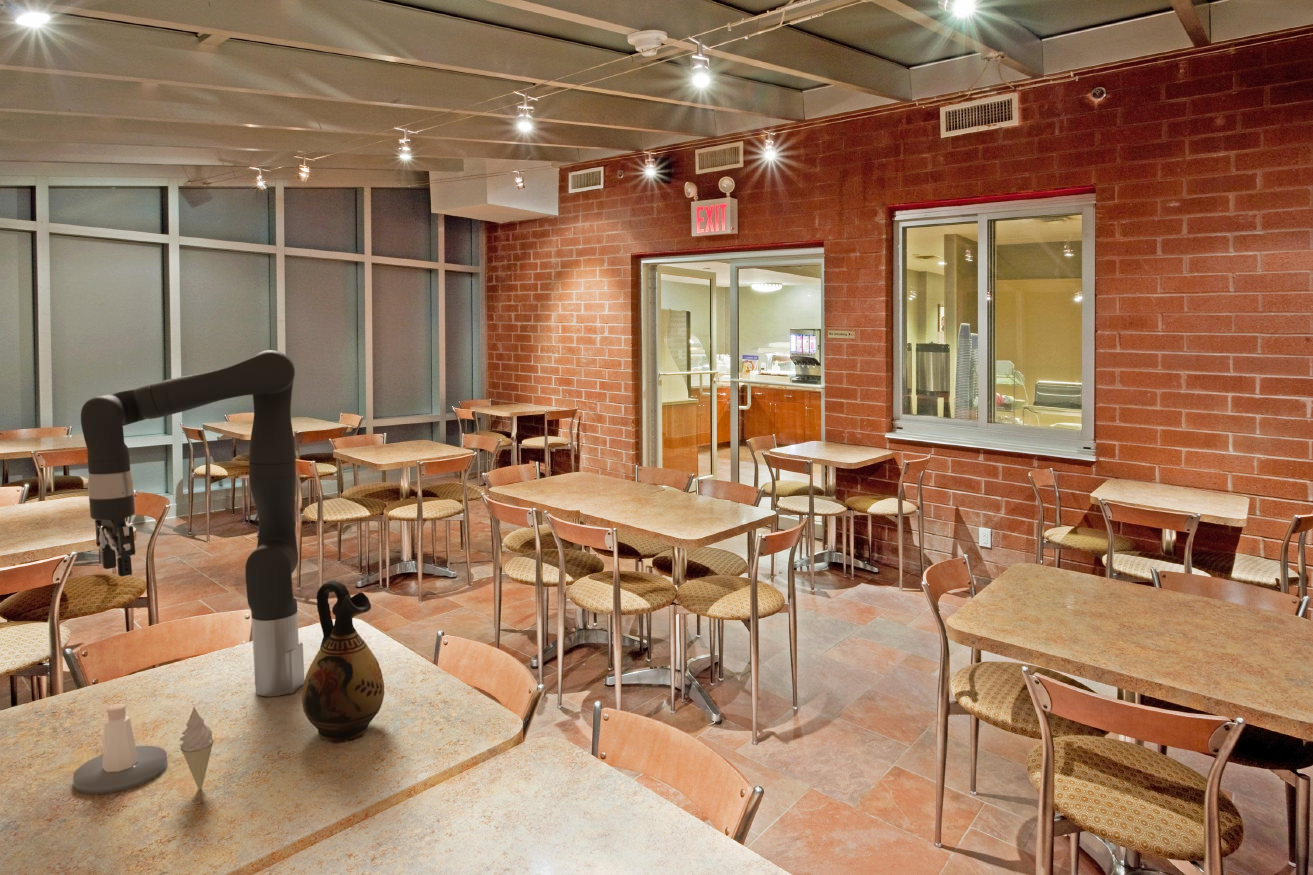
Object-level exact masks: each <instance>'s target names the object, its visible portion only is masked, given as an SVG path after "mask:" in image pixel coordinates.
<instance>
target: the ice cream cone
mask: <svg viewBox="0 0 1313 875" xmlns="http://www.w3.org/2000/svg"><path fill="white" fill-rule="evenodd" d="M185 725H186V727H187V728H186V729H185V730H184V731H182V732H181V733H180V734H182V735H183V736H181V737H180V738H178V739H179V741H180V742H182V743H181V744H179V747H180V749H179V750H180V752H182V754H183V757H184V759H185V761H186V764H187V765H188V769H189V771H190V773H191V775H192V778H193V780H194V782H195V784H196V787H197V789H198V790H199V791H200V790H202V789H203V785H204V781H205V777H206V773H207V770H208V765H209V762H210V757H211V754H212V748H213V745H214V743H215V740H214V739H213V730H212V729H211V728H210V726H207V725H206V724H205V720H204V719H203V717H201V716H200V714H199V713H198V711H197V709H196V707H195V706H193V708H192V711H191V714H190V716H189V718H188V720H187V722H186V724H185Z"/></svg>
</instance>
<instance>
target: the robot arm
mask: <svg viewBox="0 0 1313 875" xmlns="http://www.w3.org/2000/svg"><path fill="white" fill-rule="evenodd" d="M295 370H296V369H295V366H294V363H293V361H292V360H291V359H290V357H289V356H288V355H287V354H285V353H283V352H282V351H278V350H274V349H273V350H272V349H269V350H268V349H266V350H262V351H260V352H258V353H256V354H255V355H253V356H252V357H250V358H248V359H246V360H243V361H240V362H237V363H235V364H233V365H230V366H227V367H226V366H225V367H223V368H219V369H215V370H212V371H206V372H202V373H196V374H190V375H185V376H179V377H174V378H169V379H165V380H161V381H157V382H153V383H149V384H144V385H142V386H140V387H138V388H134V389H129V390H123V391H122V390H121V391H118V392H114V393H108V394H104V395H103V394H102V395H98V396H95V397H92V398H90V399H88V400H86V402H85V403H84V404H83V405H82V408H81V409H80V410H81V411H80V424H81V429H82V430H81V431H82V434H83V438H84V443H85V447H86V451H87V468H88V469H87V470H88V478H87V479H88V482H87V487H88V488H87V489H88V500H89V501H88V503H89V514H90V518H91V519H92V520H93V521H94V523H95V524H94V525H95V526H94V527H95V539H96V540H95V542H96V543H95V545H96V546H97V547H98V548H99V551H100V552H101V559H102V560H101V561H102V568H103V569H105V570H109V569H114V568H117V574H118V576H119V577H126V576H131V575H132V570H133V569H132V558H131V557H132V556H134V555H136V545H135V536H134V526H133V525H131V524H130V525H127V523H126V522H127V521H126V519H127V518H130V517H132V516H134V515H135V513H136V508H135V507H136V506H135V495H134V494H135V493H134V482H133V476H132V472H131V460H130V451H129V448H128V446H127V444H126V443H125V437H124V435H125V434H124V426H127V425H130V424H134V423H135V424H136V423H138V422H141V421H144V420H149V419H150V420H153V419H159V418H163V417H167V416H171V415H175V414H179V413H182V412H186V411H190V410H193V409H197V408H200V407H203V406H206V405H209V404H213V403H217V402H219V401H223V400H228V399H232V398H238V397H244V396H252V401H253V402H252V403H253V421H252V428H251V435H250V441H249V451H248V480H249V489H250V492H251V496H252V500H253V503H254V505H255V509H256V513H257V518H258V535H257V536H258V537H257V543H256V544H257V545H256V549H254V550H253V551H252V552H251V553H250V554H249V555H248V557H247V560H246V563H245V567H244V569H245V570H244V572H245V573H244V575H245V587H246V589H245V590H246V599H247V604H248V607H249V609H250V615H251V616H250V617H251V632H252V634H251V636H252V650H253V652H252V654H253V668H254V669H253V670H254V685H255V686H254V687H255V693H256V695H258V696H261V697H278V696H283V695H287V694H288V695H290V694H291V695H292V694H294V693H295V692H296V691H297V690H298V689H299V688H300V687H301V686H303V684H304V681H305V664H304V663H305V662H304V644H303V642H302V641H301V642H300V641H299V620H298V619H299V617H298V602H297V598H295V596H294V592H293V575H292V574H294V571H295V570H296V568H297V565H298V562H299V551H298V545H297V538H296V531H295V530H296V529H295V517H294V515H295V501H296V472H297V469H296V468H297V467H296V466H297V464H296V448H295V447H296V446H295V438H294V431H293V423H292V415H291V414H292V413H291V411H292V410H291V409H292V394H293V385H294V379H295V375H296V371H295Z"/></svg>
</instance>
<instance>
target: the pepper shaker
mask: <svg viewBox="0 0 1313 875" xmlns="http://www.w3.org/2000/svg"><path fill="white" fill-rule="evenodd" d="M126 708H127V706H126V704H125V703H114V704H112V705H110V706H108V707H107V709H106V712H107V717H108V718H107V720H106V721H105V722H104V729H103V730H104V731H103V732H104V734H103V751H102V754H103V767H102V768H103V769H104V770H105V771H106V772H119V771H122V770H125V769H128V768H131V767H132V766H134V765H135V764H136V763H137V762H138V756H137V751H136V746H137V745H136V742H135V738H134V737H135V736H134V732H133V728H132V722H131V718H130V717H129V716H128V715H127V714H126V713H127V711H126Z"/></svg>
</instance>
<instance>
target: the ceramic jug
mask: <svg viewBox="0 0 1313 875" xmlns="http://www.w3.org/2000/svg"><path fill="white" fill-rule="evenodd" d="M346 586H347V585H345V584H344V583H342V582H339V581H336V580H330V581H327V582H326V583H323V584H322V585H321V586H320V587H319V588H318V590H317V592H316V610H317V613H318V618H319V623H320V627H321V630H322V635H323V637H322V640H321V643H320V647H319V650H318V651H317V653H316V654H315V656H314V658H313V660H312V662H311V664H310V665H309V668H308V671H307V672H306V675H305V677H304V680H305V681H304V683H303V684H302V691H301V705H302V711H303V713H304V715H305V716H306V718H307V720H308V721H309V723H310V724H312V726H313V727H314V728H316V729H317V735H318V737H319V738H320V739H321V740H324V741H326V742H329V743H333V744H338V743H339V744H340V743H342V742H348V741H349V742H351V741H353V740H357V739H359V738H362V737H363V735H364V734H365V733H367V732H368V730H369V725H370V723H371V722H372V721H373V719H374V718H375V717H376V715H377V714H378V713H379V711H380V710H381V708H382V705H383V702H384V697H385V683H384V681H385V680H384V678H383V673H382V669H381V667H380V663H379V661H378V660H377V657H376V656H375V655H374V652H372V650H371V649H370V647H369V645H368V644H367V643H366V642H365V640H364V639H363V638H362V636H361V635H360V634H359V633H358V631H357V629H356V628H355V627H354V624H353V623H354V622H353V618H354V617H357V616H358V615H362V614H365V613H368V612H370V611H371V609H372V604H371V602H370V599H369V597H368V596H367V595H366V594H365V593H364V592H362V591H360V592H358V593H356V594H354V595H353V596H352V597H351V594H350V591H349V590H348V588H347V587H346ZM330 593H334V594H335V597H336V602H335V603H334V605H333V606H332V607H331V608H330V603H329V598H330ZM331 610H332V612H331ZM332 614H333V615H334V621H333V618H332Z"/></svg>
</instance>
